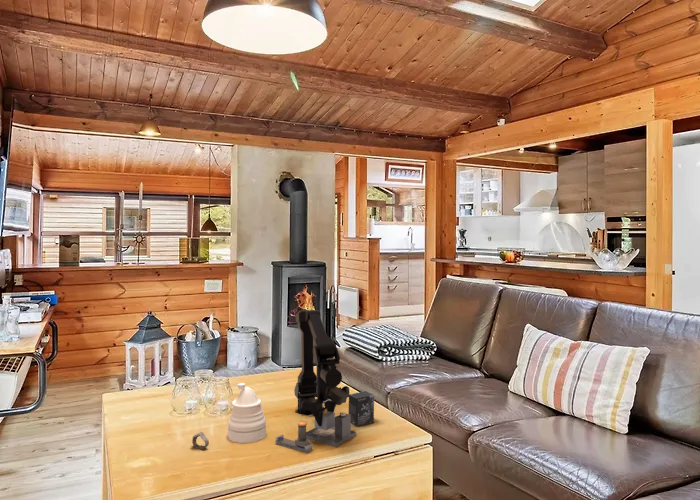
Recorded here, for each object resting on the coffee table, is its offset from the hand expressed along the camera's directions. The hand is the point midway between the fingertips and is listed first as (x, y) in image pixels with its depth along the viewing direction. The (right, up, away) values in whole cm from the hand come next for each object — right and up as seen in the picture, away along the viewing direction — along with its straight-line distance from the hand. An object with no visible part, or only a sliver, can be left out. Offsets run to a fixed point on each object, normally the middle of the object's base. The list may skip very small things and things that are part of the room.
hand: (324, 423), depth 177 cm
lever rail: (-10, -4, -10) cm, 14 cm away
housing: (0, -1, 0) cm, 1 cm away
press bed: (+2, -4, -1) cm, 5 cm away
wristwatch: (-40, -4, -11) cm, 41 cm away
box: (+13, -4, +12) cm, 18 cm away
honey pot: (-27, -4, 0) cm, 27 cm away
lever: (-7, -3, -12) cm, 14 cm away
